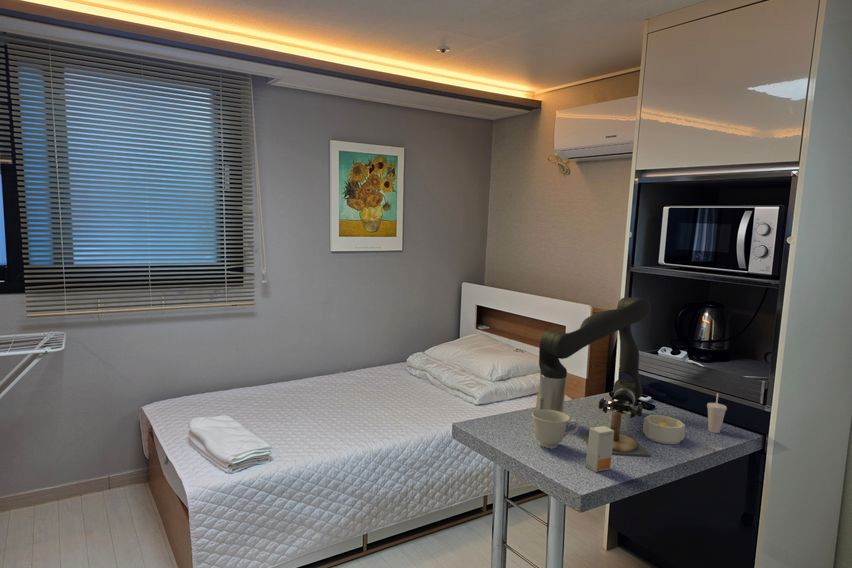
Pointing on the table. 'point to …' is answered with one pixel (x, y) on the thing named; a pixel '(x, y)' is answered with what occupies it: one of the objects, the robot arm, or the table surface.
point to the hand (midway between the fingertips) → (618, 412)
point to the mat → (637, 452)
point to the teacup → (551, 427)
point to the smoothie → (715, 416)
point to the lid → (621, 436)
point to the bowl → (663, 429)
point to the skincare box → (599, 448)
